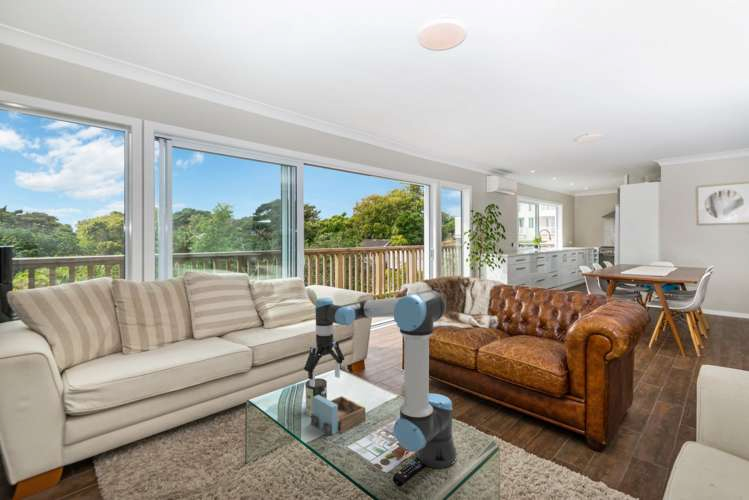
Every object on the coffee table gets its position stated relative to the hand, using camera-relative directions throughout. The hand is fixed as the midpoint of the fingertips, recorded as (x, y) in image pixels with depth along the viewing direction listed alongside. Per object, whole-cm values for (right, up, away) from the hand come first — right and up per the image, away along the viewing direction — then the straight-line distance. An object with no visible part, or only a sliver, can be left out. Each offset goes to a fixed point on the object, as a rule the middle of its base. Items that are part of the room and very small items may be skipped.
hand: (325, 381), depth 160 cm
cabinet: (+5, -20, +5) cm, 22 cm away
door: (0, -21, +1) cm, 21 cm away
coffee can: (-6, -20, +16) cm, 26 cm away
